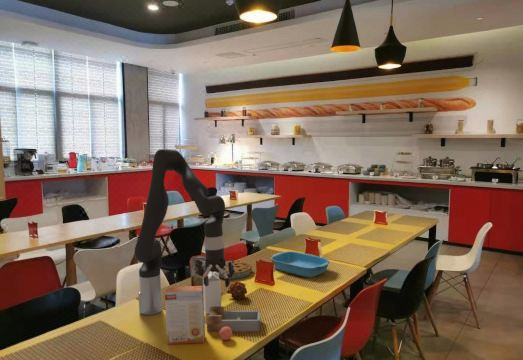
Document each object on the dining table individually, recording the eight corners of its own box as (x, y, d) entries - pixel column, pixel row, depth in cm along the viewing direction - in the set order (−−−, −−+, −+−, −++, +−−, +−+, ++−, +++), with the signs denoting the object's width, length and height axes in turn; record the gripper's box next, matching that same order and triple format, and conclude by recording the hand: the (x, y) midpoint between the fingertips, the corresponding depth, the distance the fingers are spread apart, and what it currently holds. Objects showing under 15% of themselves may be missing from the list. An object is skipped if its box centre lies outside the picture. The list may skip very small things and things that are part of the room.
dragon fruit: (243, 305, 189) (230, 300, 199) (254, 291, 193) (241, 287, 203) (233, 293, 186) (220, 289, 196) (244, 279, 190) (231, 276, 200)
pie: (209, 271, 234) (209, 262, 234) (243, 265, 244) (243, 257, 243) (221, 282, 215) (221, 274, 214) (258, 276, 224) (258, 268, 223)
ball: (219, 342, 151) (218, 330, 151) (220, 336, 156) (220, 324, 156) (232, 342, 151) (231, 330, 151) (233, 336, 156) (232, 324, 156)
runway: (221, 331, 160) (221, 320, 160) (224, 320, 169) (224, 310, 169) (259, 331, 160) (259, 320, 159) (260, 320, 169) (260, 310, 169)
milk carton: (205, 314, 176) (204, 273, 174) (203, 308, 182) (202, 268, 180) (221, 312, 177) (220, 271, 175) (219, 306, 184) (217, 266, 182)
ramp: (207, 331, 160) (206, 316, 160) (210, 321, 169) (209, 306, 169) (223, 331, 160) (223, 316, 160) (226, 320, 169) (225, 306, 169)
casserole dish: (263, 268, 238) (263, 256, 237) (286, 259, 254) (286, 248, 253) (315, 282, 213) (315, 269, 212) (336, 271, 230) (336, 259, 229)
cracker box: (205, 335, 157) (203, 285, 155) (203, 343, 151) (202, 290, 149) (169, 336, 156) (167, 285, 154) (166, 344, 150) (164, 291, 148)
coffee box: (211, 285, 211) (210, 256, 209) (208, 290, 204) (207, 259, 203) (194, 285, 212) (193, 255, 210) (190, 289, 205) (189, 259, 203)
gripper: (194, 248, 154) (196, 289, 156) (228, 249, 151) (231, 290, 153) (201, 243, 162) (203, 282, 163) (234, 244, 158) (236, 283, 160)
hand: (217, 286), depth 158 cm, fingers open, 8 cm apart
